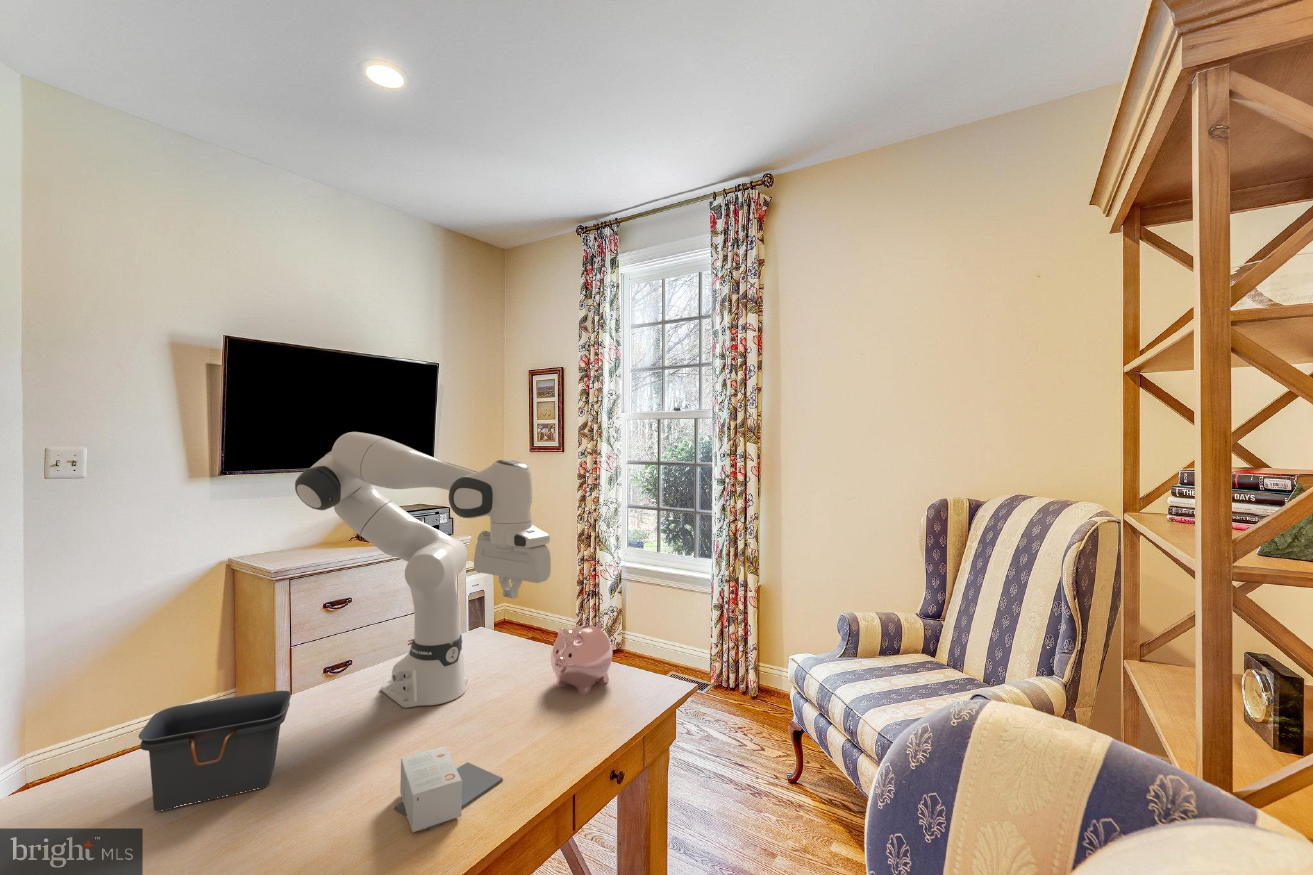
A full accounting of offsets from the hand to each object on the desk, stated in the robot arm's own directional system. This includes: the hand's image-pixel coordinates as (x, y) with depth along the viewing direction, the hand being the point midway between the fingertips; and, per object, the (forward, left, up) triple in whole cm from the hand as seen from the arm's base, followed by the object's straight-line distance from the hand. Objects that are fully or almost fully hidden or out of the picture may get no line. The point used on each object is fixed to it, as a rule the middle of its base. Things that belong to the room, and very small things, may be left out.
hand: (510, 597), depth 120 cm
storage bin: (-32, -41, -31) cm, 61 cm away
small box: (-1, -20, -28) cm, 34 cm away
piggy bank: (-4, +30, -31) cm, 44 cm away
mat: (+5, -19, -31) cm, 37 cm away
